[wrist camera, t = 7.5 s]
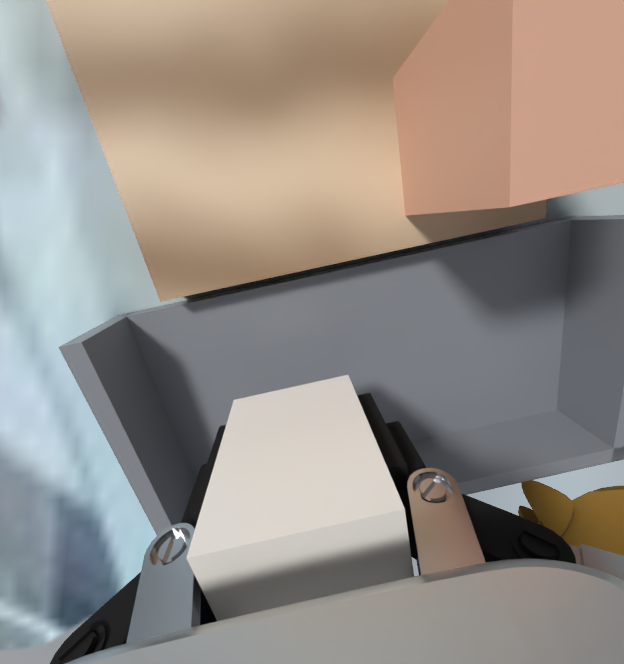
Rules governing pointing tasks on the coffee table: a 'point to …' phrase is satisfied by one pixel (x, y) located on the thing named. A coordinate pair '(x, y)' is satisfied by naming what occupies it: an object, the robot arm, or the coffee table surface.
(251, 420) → the cream block
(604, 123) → the terracotta block
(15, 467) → the coffee table surface
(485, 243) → the box
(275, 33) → the board
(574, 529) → the decorative fish
